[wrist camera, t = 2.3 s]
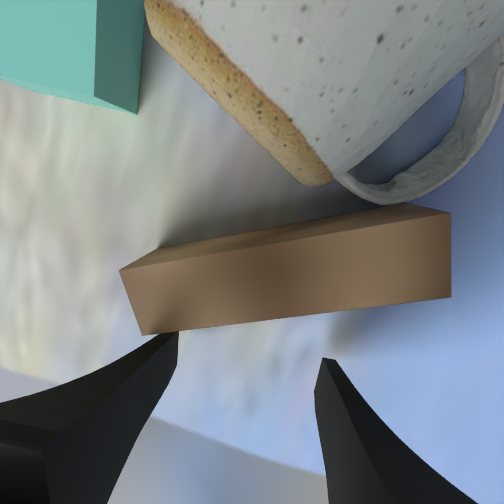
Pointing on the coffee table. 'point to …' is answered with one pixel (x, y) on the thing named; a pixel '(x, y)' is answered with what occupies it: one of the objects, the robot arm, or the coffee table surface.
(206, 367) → the coffee table surface
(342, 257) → the brown wooden block
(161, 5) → the ceramic mug
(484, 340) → the coffee table surface
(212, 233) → the coffee table surface
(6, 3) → the turquoise cube box
